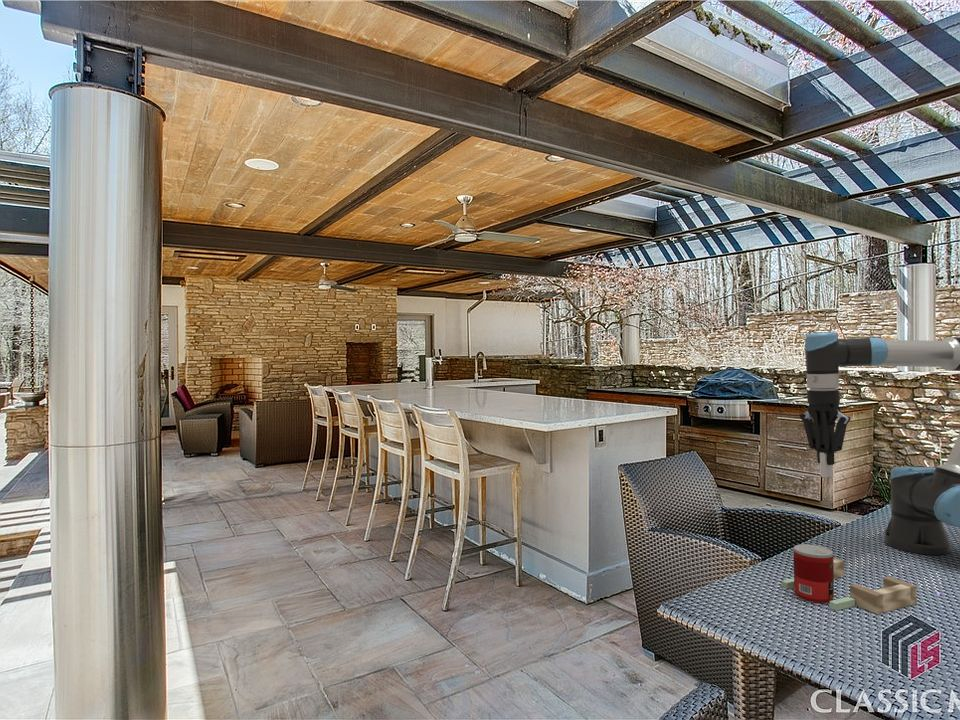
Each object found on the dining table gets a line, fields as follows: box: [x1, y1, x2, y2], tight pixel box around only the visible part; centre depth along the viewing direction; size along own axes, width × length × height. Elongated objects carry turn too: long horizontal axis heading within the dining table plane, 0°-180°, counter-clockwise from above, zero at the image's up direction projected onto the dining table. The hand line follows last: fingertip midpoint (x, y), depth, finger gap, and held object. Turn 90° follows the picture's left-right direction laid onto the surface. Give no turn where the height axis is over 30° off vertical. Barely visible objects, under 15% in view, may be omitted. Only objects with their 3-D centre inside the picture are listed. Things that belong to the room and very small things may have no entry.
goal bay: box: [781, 577, 856, 612], centre depth 131 cm, size 6×14×2 cm, turn 20°
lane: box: [833, 557, 918, 615], centre depth 133 cm, size 13×19×4 cm
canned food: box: [793, 543, 835, 604], centre depth 131 cm, size 8×8×11 cm
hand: (826, 476), depth 152 cm, fingers closed
